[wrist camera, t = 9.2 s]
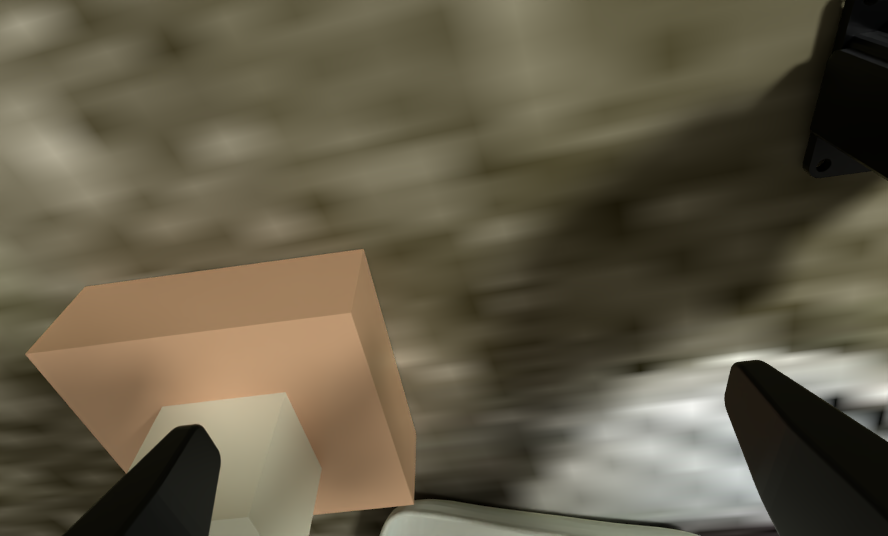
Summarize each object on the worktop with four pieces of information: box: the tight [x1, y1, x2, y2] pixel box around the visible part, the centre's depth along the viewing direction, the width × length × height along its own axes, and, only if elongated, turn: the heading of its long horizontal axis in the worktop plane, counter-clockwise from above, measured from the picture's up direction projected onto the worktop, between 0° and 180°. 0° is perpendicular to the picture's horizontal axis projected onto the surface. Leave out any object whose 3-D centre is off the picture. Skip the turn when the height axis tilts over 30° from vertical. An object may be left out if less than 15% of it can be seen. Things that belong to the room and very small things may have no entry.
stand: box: [25, 249, 416, 515], centre depth 24 cm, size 12×12×4 cm
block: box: [127, 392, 322, 536], centre depth 20 cm, size 5×5×5 cm
